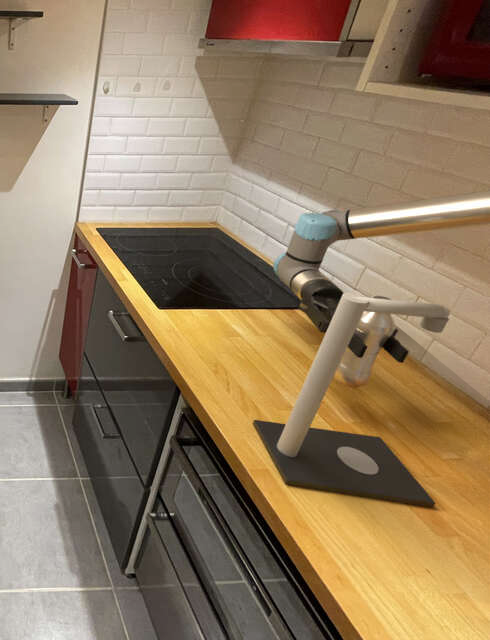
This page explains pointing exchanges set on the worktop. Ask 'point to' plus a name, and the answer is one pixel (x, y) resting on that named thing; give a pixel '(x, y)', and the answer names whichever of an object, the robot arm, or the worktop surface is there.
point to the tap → (340, 447)
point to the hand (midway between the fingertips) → (382, 354)
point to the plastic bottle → (373, 335)
